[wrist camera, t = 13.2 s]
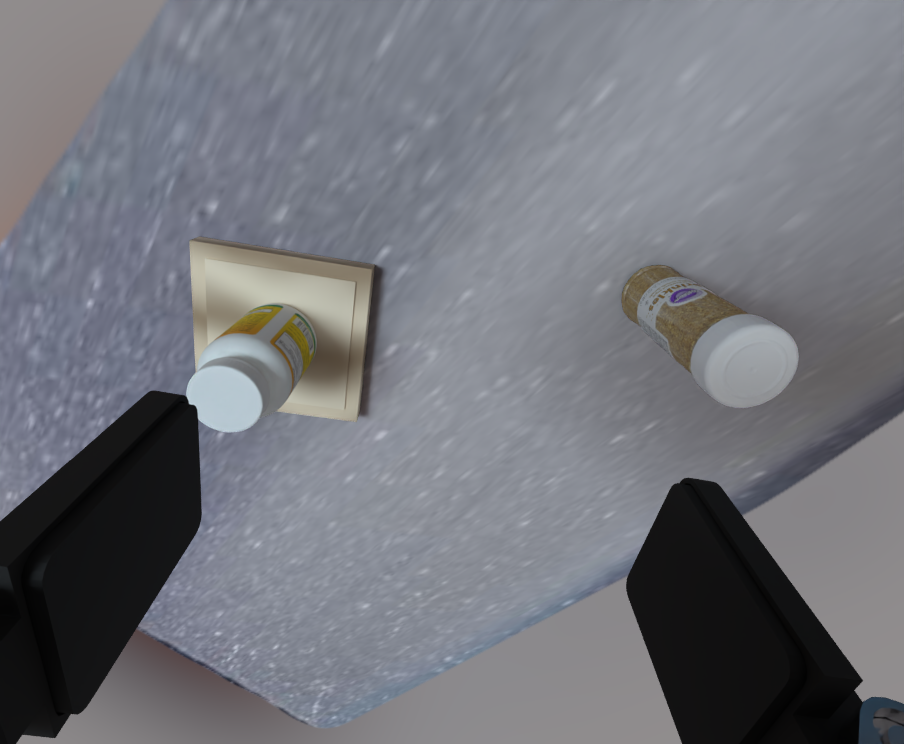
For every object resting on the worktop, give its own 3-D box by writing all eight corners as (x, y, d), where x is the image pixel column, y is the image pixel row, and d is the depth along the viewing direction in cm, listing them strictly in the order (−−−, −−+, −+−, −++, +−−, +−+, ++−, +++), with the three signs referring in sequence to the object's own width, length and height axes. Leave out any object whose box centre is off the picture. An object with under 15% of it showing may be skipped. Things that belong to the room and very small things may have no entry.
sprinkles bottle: (662, 250, 35) (779, 306, 23) (693, 299, 37) (818, 376, 24) (606, 290, 36) (690, 364, 24) (638, 336, 38) (732, 427, 26)
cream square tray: (199, 236, 34) (188, 240, 33) (374, 264, 35) (371, 269, 34) (205, 391, 39) (196, 401, 38) (359, 412, 40) (356, 422, 39)
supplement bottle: (330, 323, 35) (292, 383, 26) (300, 384, 37) (256, 459, 28) (256, 286, 34) (190, 336, 25) (229, 351, 36) (160, 418, 27)
